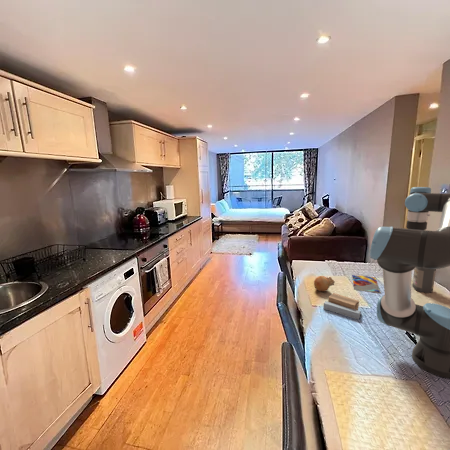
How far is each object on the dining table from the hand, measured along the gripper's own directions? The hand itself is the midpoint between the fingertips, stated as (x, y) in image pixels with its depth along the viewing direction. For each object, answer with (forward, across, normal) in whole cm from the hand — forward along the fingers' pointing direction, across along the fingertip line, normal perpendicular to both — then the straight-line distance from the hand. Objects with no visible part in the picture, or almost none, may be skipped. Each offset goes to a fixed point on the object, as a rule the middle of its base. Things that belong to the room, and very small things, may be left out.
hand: (411, 268), depth 119 cm
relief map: (+30, +40, +26) cm, 56 cm away
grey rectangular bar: (+29, -8, +28) cm, 41 cm away
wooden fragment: (+30, +25, +48) cm, 62 cm away
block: (+30, -3, +29) cm, 41 cm away
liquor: (+30, +51, -5) cm, 59 cm away
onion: (+30, +12, +46) cm, 56 cm away
